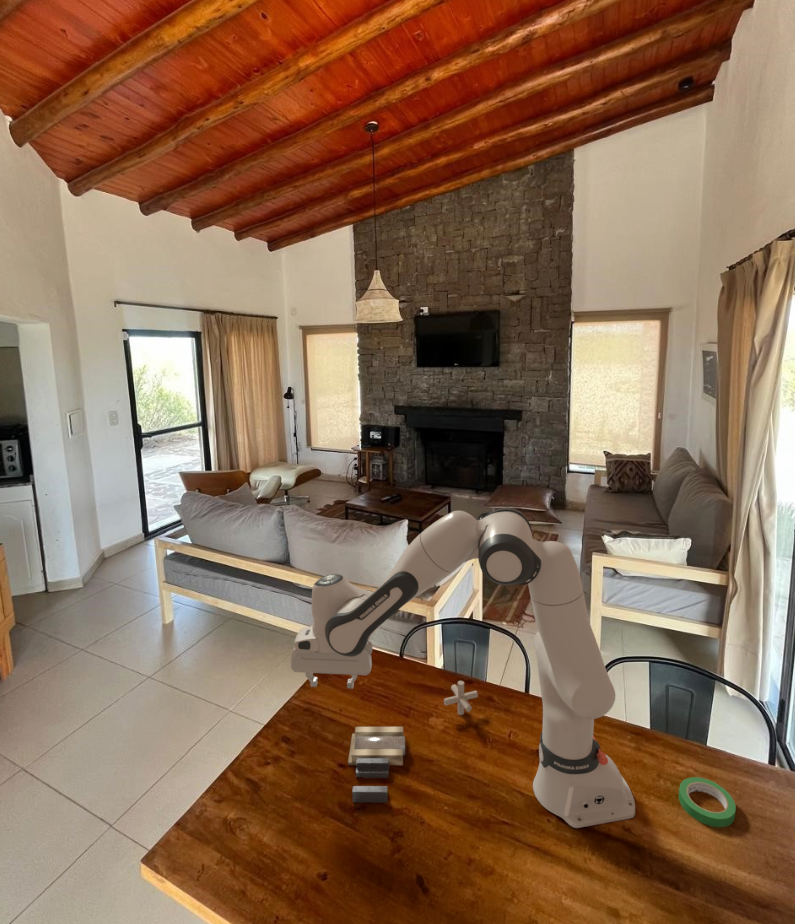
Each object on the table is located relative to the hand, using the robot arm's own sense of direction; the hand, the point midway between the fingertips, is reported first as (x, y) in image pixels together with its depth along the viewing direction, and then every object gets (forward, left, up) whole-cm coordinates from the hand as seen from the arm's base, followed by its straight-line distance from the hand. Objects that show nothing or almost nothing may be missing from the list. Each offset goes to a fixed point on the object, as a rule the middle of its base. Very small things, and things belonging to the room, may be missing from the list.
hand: (332, 686), depth 131 cm
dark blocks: (-10, +10, -20) cm, 25 cm away
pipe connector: (-34, -15, -20) cm, 42 cm away
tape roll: (-87, +15, -21) cm, 91 cm away
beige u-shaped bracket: (-11, -1, -20) cm, 23 cm away
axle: (-12, 0, -18) cm, 22 cm away
